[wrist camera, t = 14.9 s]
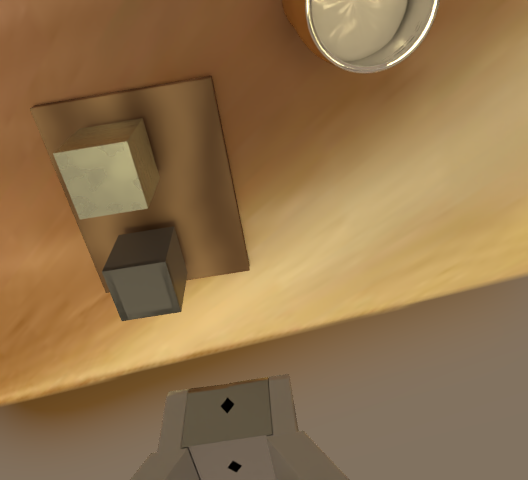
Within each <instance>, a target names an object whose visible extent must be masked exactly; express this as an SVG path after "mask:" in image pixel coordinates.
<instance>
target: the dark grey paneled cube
mask: <svg viewBox="0 0 528 480" xmlns="http://www.w3.org/2000/svg"><path fill="white" fill-rule="evenodd" d="M187 273H188V272H187V269H186V265H185V262H184V259H183V255H182V252H181V248H180V245H179V241H178V238H177V234H176V231H175V227H174V226H172V227H166V228H160V229H154V230H148V231H141V232H135V233H129V234H123V235H118V238H117V240H116V242H115V244H114V246H113V248H112V251H111V253H110V255H109V257H108V259H107V262H106V264H105V266H104V268H103V270H102V274H103V276H104V279H105V281H106V284H107V286H108V288H109V291H110V293H111V296H112V298H113V301H114V303H115V306H116V308H117V311H118V313H119V315H120V318H121V320H122V321H126V320H132V319H138V318H145V317H151V316H158V315H164V314H171V313H177V312H181V310H182V303H183V297H184V291H185V285H186V279H187Z"/></svg>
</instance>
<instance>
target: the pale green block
mask: <svg viewBox="0 0 528 480" xmlns="http://www.w3.org/2000/svg"><path fill="white" fill-rule="evenodd" d="M53 155H54V157H55V160H56V162H57V165H58V167H59V170H60V172H61V175H62V177H63V179H64V182H65V184H66V187H67V189H68V192H69V194H70V197H71V199H72V202H73V204H74V206H75V209H76V211H77V214H78V216H79V219H87V218H93V217H99V216H105V215H111V214H117V213H124V212H130V211H136V210H142V209H148V207H149V205H150V202H151V200H152V197H153V194H154V192H155V189H156V187H157V184H158V181H159V179H160V177H159V173H158V170H157V166H156V163H155V160H154V156H153V153H152V149H151V146H150V142H149V139H148V135H147V132H146V128H145V125H144V121H143V118H141V119H135V120H129V121H123V122H117V123H111V124H105V125H99V126H93V127H87V128H81V129H78V130H77V131H76V132H75V133H74V134H73V135H72V136H71V137H70V138H69V139H68V140H67V141H66V142H65V143H64V144H63V145H61V146H60V147H59V148H58V149H57V150H56V151H55V152H54V153H53Z"/></svg>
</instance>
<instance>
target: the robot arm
mask: <svg viewBox="0 0 528 480" xmlns="http://www.w3.org/2000/svg"><path fill="white" fill-rule="evenodd" d="M130 480H349V479H348V478H347V476H346V475H345V474H344V473H343V472H342V471H341V470H340V469H339V468H338V467H337V466H336V465H335V464H334V463H333V462H332V461H331V460H330V458H328V457H327V455H326V454H325V453H324V452H323V451H322V450H321V449H320V448H319V447H318V446H317V445H316V444H315V443H314V442H313V440H312V439H311V438H309V436H308V435H307V434H306V433H305V432H304V431H299V430H298V424H297V418H296V412H295V406H294V400H293V395H292V388H291V382H290V377H289V374H285V375H279V376H272V377H269V378H268V377H265V378H259V379H252V380H246V381H240V382H234V383H229V384H224V385H217V386H216V385H215V386H207V387H200V388H191V389H186V390H178V391H171V392H169V393H168V395H167V397H166V402H165V408H164V414H163V420H162V426H161V433H160V438H159V444H158V451H157V452H156V453H151V454H150V455H149V457H148V458H147V459H146V460H145V462H144V463H143V464H142V465H141V467H140V468H139V469H138V470H137V472H136V473H135V474H134V476H133V477H132V478H131V479H130Z"/></svg>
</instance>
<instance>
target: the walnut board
mask: <svg viewBox="0 0 528 480" xmlns="http://www.w3.org/2000/svg"><path fill="white" fill-rule="evenodd" d="M30 110H31V113H32V115H33V118H34V120H35V122H36V125H37V127H38V130H39V132H40V134H41V137H42V139H43V142H44V144H45V147H46V149H47V151H48V154H49V156H50V159H51V161H52V163H53V166H54V168H55V171H56V173H57V176H58V178H59V180H60V183H61V185H62V188H63V190H64V192H65V195H66V197H67V200H68V202H69V205H70V207H71V209H72V212H73V214H74V217H75V219H76V221H77V224H78V226H79V229H80V231H81V233H82V236H83V238H84V241H85V243H86V246H87V248H88V250H89V253H90V255H91V258H92V260H93V262H94V265H95V267H96V270H97V272H98V275H99V277H100V279H101V282H102V284H103V287H104V289H105V291H106V293H109V292H110V291H109V288H108V286H107V284H106V281H105V279H104V276H103V274H102V270H103V268H104V266H105V264H106V262H107V259H108V257H109V255H110V253H111V251H112V248H113V246H114V244H115V242H116V240H117V238H118V235H123V234H129V233H135V232H141V231H148V230H154V229H160V228H166V227H172V226H174V227H175V231H176V234H177V238H178V241H179V245H180V248H181V252H182V255H183V259H184V262H185V265H186V269H187V272H188V273H187V279H186V280H191V279H198V278H204V277H210V276H217V275H223V274H229V273H236V272H242V271H249V270H250V269H249V261H248V256H247V251H246V246H245V241H244V236H243V231H242V226H241V221H240V216H239V211H238V206H237V201H236V196H235V191H234V186H233V181H232V176H231V171H230V166H229V161H228V156H227V151H226V146H225V141H224V136H223V131H222V126H221V121H220V116H219V111H218V106H217V101H216V96H215V91H214V86H213V81H212V76H207V77H201V78H195V79H189V80H184V81H178V82H172V83H166V84H160V85H154V86H148V87H142V88H136V89H130V90H124V91H118V92H112V93H106V94H101V95H95V96H89V97H83V98H77V99H71V100H65V101H59V102H53V103H47V104H41V105H35V106H33V107H32V108H30ZM141 118H143V121H144V125H145V128H146V132H147V135H148V139H149V142H150V146H151V149H152V153H153V156H154V160H155V163H156V166H157V170H158V173H159V177H160V179H159V181H158V184H157V187H156V189H155V192H154V194H153V197H152V200H151V202H150V205H149V207H148V209H142V210H136V211H130V212H124V213H117V214H111V215H105V216H99V217H93V218H87V219H79V216H78V214H77V211H76V209H75V206H74V204H73V202H72V199H71V197H70V194H69V192H68V189H67V187H66V184H65V182H64V179H63V177H62V175H61V172H60V170H59V167H58V165H57V162H56V160H55V157H54V155H53V153H54V152H55V151H56V150H57V149H58V148H59V147H60V146H61V145H63V144H64V143H65V142H66V141H67V140H68V139H69V138H70V137H71V136H72V135H73V134H74V133H75V132H76V131H77V130H78V129H81V128H87V127H93V126H99V125H105V124H111V123H117V122H123V121H129V120H135V119H141Z"/></svg>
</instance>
